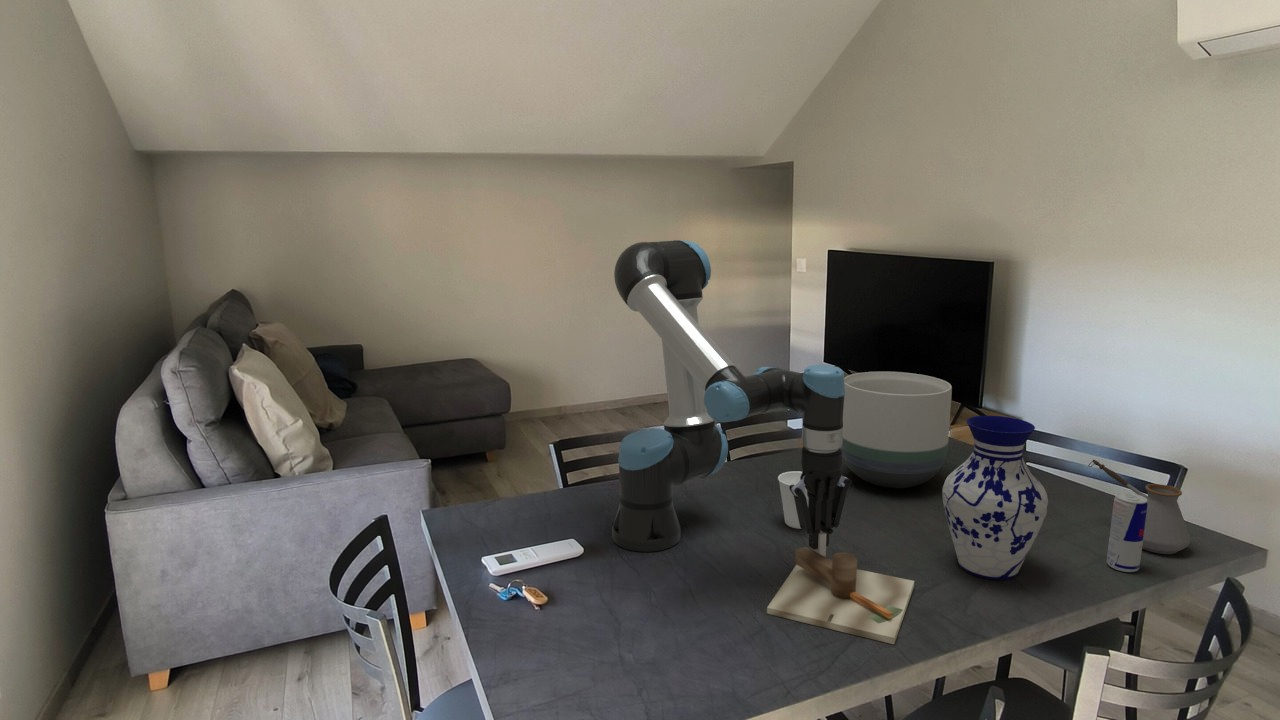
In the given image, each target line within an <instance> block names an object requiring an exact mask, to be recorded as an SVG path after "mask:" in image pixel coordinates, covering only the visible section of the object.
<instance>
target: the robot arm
mask: <svg viewBox="0 0 1280 720" xmlns="http://www.w3.org/2000/svg"><path fill="white" fill-rule="evenodd" d="M613 275H614V276H613V277H614V284H615V287H616V290H617V292H618V294H619V296H620V298H621V299H622V301H623V302H624V303H625V305H626V306H627V307H628V308H629V309H630V310H631V311H633V312H639V314H640V315H641V316H642V317H643V319H644V320H645V321H646V322H647V323H648V324H649V326H651V329H653V330H654V332H655V333H656V334H657V335H658V336H659V338H660V339H661V346H662V353H663V365H664V373H665V376H664V377H665V384H666V385H665V386H666V394H667V403H668V405H667V406H668V413H669V415H668V417H666V418H665V420H664V422H663V428H664V429H660V428H650V429H641V430H637V431H633V432H632V433H631V432H630V434H627V435H626V436H625V437H624V438H622V440H621V442H620V444H619V449H618V450H619V452H618V454H619V455H618V457H617V462H618V469H619V470H618V473H619V474H618V477H619V479H618V480H619V483H618V484H619V505H618V509H617V511H616V515H615V518H614V522H613V525H612V528H611V529H612V530H611V534H612V535H611V537H612V541H613V543H615V544H616V545H617V546H618V547H621V548H623V549H625V550H630V551H634V552H643V553H645V552H647V553H648V552H659V551H663V550H664V551H665V550H667V549H670V548H672V547H674V546H675V545H677V544H678V543H679V542H680V540H681V537H682V535H681V531H682V530H681V525H680V521H679V519H678V515H677V513H676V510H675V508H674V507H675V506H674V502H673V501H674V500H673V499H674V498H673V496H674V495H673V492H674V491H673V490H674V489H673V488H674V487H675V486H676V487H677V486H679V485H682V484H686V483H688V482H689V483H690V482H692V481H695V480H698V479H705V478H707V477H709V476H711V475H712V474H713V475H714V474H715V473H717V472H719V471H720V470H721V468H723V466H724V464H725V463H726V461H727V459H728V458H727V457H728V452H729V444H728V440H727V436H726V434H724V432H723V429H722V428H721V427H720V426H719V425H717V424H716V422H719V423H729V422H738V421H741V420H743V419H747V418H750V417H753V416H756V415H761V414H765V413H770V412H773V411H777V410H787V411H791V412H796V413H801V414H802V418H801V419H802V421H801V422H802V427H801V428H802V429H801V430H802V431H801V445H802V448H801V455H800V456H801V459H800V463H801V468H802V471H801V472H802V474H801V477H800V481H799V482H798V483H797V484H796V485H793V484H792V485H790V487H789V489H790V491H791V492H792V494H793V495H794V500H795V504H796V509H797V514H798V519H799V524H800V528H802V530H803V531H805V532H806V533H807V534H808V546H809V547H810V549H811V550H813V551H815V552H817V553H819V554H821V555H823V556H825V557H826V558H827V553H826V552H827V547H829V544H830V535H832V534H833V533H834V528H835V529H836V528H838V527H839V525H840V520H841V517H842V513H843V511H844V510H843V508H844V505H845V501H846V497H847V493H848V490H849V488H850V487H851V485H852V482H853V481H852V479H850V478H848V477H846V476H844V475H842V471H841V469H842V466H843V456H842V450H841V447H842V443H843V409H844V397H845V385H844V378H845V372H844V371H843V369H842V368H840V367H839V366H838V367H837V366H834V365H831V364H830V365H825V364H814V365H808V366H807V367H805V368H804V370H803V373H801V372H797V371H793V370H789V369H783V368H780V367H778V366H777V367H776V366H774V367H771V366H762V367H761V366H760V368H758V369H757V370H756V371H755V372H753V374H752V375H747V376H745V375H744V374H743V373H742V372H741V370H739V368H737V366H736V365H735V364H734V362H732V361H731V360H730V358H729V357H728V356H727V355H726V354H725V353H724V351H723V350H722V349H721V348H720V347H719V346H718V345H717V344H716V342H715V341H714V340H713V339H712V338H711V337H710V336H709V334H708V333H707V332H706V331H705V330H704V329H703V327H701V325H700V324H699V318H698V317H699V316H698V306H699V304H700V303H701V302H702V300H703V297H704V296H703V290H704V289H706V287H707V286H708V284H709V281H710V280H711V275H712V266H711V261H710V259H709V257H708V255H707V253H706V251H705V250H704V249H703V248H702V247H701V246H700V245H699V244H698V243H696V242H694V241H690V240H682V239H681V240H680V239H674V240H665V241H664V240H663V241H649V242H648V241H642V242H636V243H634V244H631V245H630V246H628V247H626V248H625V249H624V250H623V251H622V252H621V253H620V255H619V257H618V258H617V260H616V263H615V266H614V271H613ZM805 488H806V489H807V496H808V498H809V499H808V504H807V500H806V496H805V493H806V491H805Z"/></svg>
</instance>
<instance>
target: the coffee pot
mask: <svg viewBox="0 0 1280 720" xmlns="http://www.w3.org/2000/svg"><path fill="white" fill-rule="evenodd" d="M1092 463H1093V464H1092ZM1091 464H1092V465H1091ZM1094 465H1095V466H1098V467H1099V469H1100V470H1102V471H1104V472H1105V473H1106V474H1107V475H1108V476H1110V477H1111V478H1112V479H1113V480H1115V481H1116V482H1118V483H1121V485H1123V486H1125V487H1127V488H1128V489H1130V490H1131V491H1132V493H1133V492H1134V494H1138V495H1141V496H1143V497H1145V498H1146V499H1147V504H1148V506H1147V514H1146V521H1145V529H1144V537H1143V544H1142V550H1145V551H1147V552H1151V553H1156V554H1161V555H1173V554H1177V553H1178V552H1179V551H1180V552H1181V551H1182V550H1185V549H1186V548H1187V547H1188V546H1189V545H1190V544H1191V542H1192V541H1191V540H1192V539H1191V535H1190V532H1189V531H1188V528H1187V525H1186V522H1185V519H1184V517H1183V514H1182V511H1181V508H1180V506H1179V503H1178V499H1179V497H1181V496H1182V494H1183V491H1182V490H1181V489H1179V488H1177V487H1174V486H1173V485H1168V484H1161V483H1160V484H1159V483H1149V484H1146V485H1145V486H1144V487H1145V490H1146V491H1147V492H1146V493H1147V495H1146V494H1145V493H1143V492H1142V491H1140V490H1139V489H1138V488H1136V487H1135V486H1133V485H1131V484H1130V483H1129V482H1128V481H1127V480H1125V479H1124V478H1123V477H1122V476H1120V475H1119V474H1117V473H1116V472H1115V471H1114V470H1112V469H1110V468H1108V467H1106V466H1105V464H1104V463H1103V464H1101V463H1100V462H1099V461H1097V460H1096V459H1092V461H1091V462H1089V464H1088V467H1089V468H1092V467H1093V466H1094Z"/></svg>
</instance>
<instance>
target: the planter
mask: <svg viewBox="0 0 1280 720" xmlns="http://www.w3.org/2000/svg"><path fill="white" fill-rule="evenodd" d="M844 385H845V397H844V409H843V443H842V447H841V448H840V449H841V450H842V460H843V461H844V462H845V464H846V465H847V467H848V468H849V469H850V470H851V472H852V473H854V474H855V475H856V476H858V478H860V479H861V480H863V481H865V482H867V483H869V484H872V485H874V486H878V487H882V488H888V489H906V488H907V489H908V488H913V487H917V486H919V485H921V484H924V483H926V482H928V481H929V480H931V479H932V478H933V477H934V476H935V475H937V474H938V473H939V471H940V470H941V468H942V467H943V465H944V462H945V460H946V457H947V454H948V449H949V435H950V427H951V426H950V425H951V408H952V397H953V396H952V393H953V387H952V385H951V383H949V382H948V381H946V380H944V379H941V378H937V377H935V376H929V375H925V374H921V373H919V374H917V373H911V372H903V371H868V372H867V371H865V372H856V373H853V374H849V375H846V376H844Z"/></svg>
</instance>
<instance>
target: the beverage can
mask: <svg viewBox="0 0 1280 720" xmlns="http://www.w3.org/2000/svg"><path fill="white" fill-rule="evenodd" d="M1114 496H1115V497H1114V498H1113V505H1112V514H1111V522H1110V530H1109V538H1108V545H1107V546H1108V547H1107V555H1106V564H1108V566H1109V567H1111V568H1112V569H1114V570H1117V571H1118V572H1119V571H1120V572H1123V573H1124V572H1125V573H1135V572H1138V571H1139V570H1140V568H1141V567H1140V566H1141V560H1142V559H1141V557H1142V551H1143V549H1142V544H1143V537H1144V529H1145V521H1146V514H1147V506H1148V504H1147V499H1146V498H1145V497H1143V496H1141V495H1138V494H1136V493H1135V492H1134V493H1133V492H1125V491H1124V492H1123V491H1122V492H1121V491H1120V492H1116V493H1115V495H1114Z"/></svg>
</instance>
